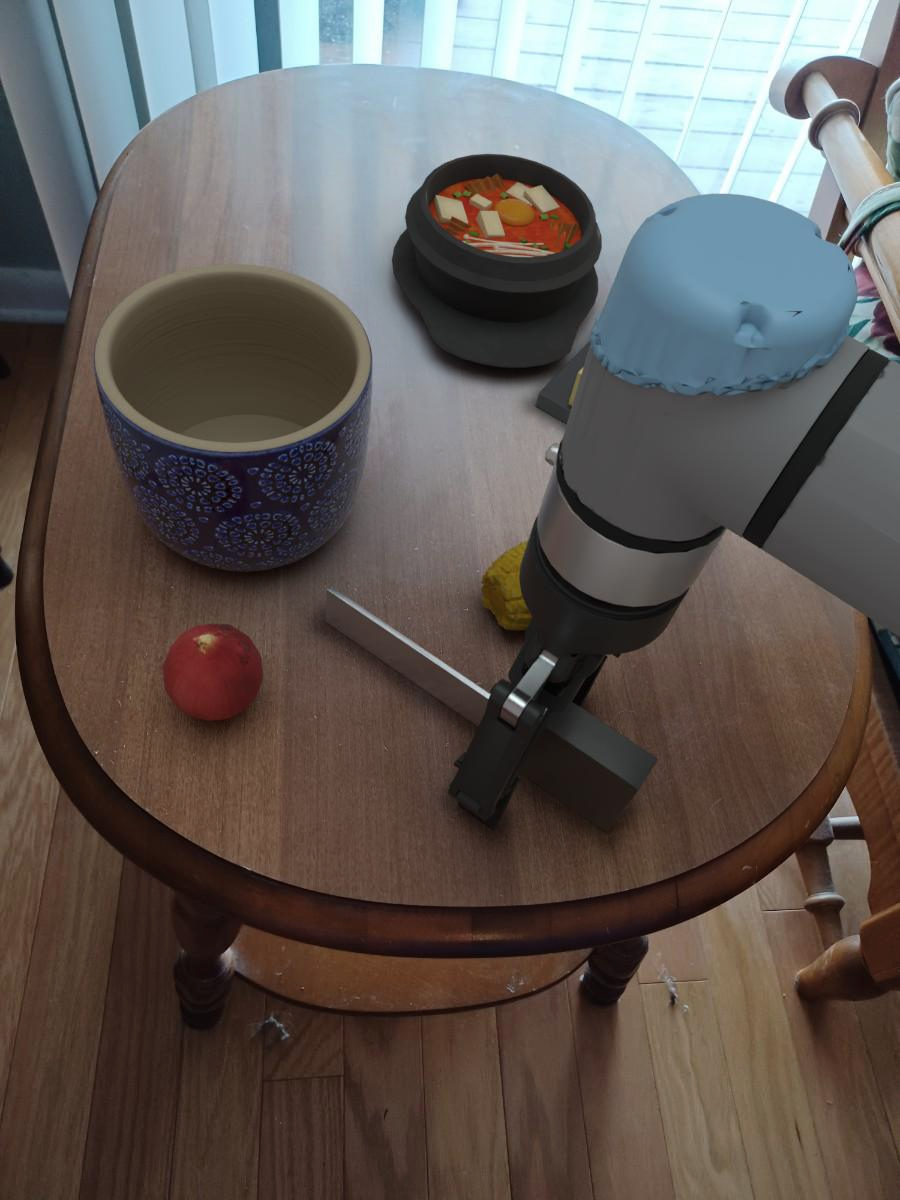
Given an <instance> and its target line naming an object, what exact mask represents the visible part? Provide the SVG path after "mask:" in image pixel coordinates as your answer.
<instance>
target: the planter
mask: <svg viewBox="0 0 900 1200" xmlns="http://www.w3.org/2000/svg"><path fill="white" fill-rule="evenodd" d="M92 356H93V358H92V360H93V361H92V362H93V370H94V371H93V372H94V379H95V384H96V389H97V390H96V391H97V393H98V398H99V403H100V406H101V411H102V415H103V419H104V423H105V427H106V431H107V435H108V437H109V438H108V439H109V441H110V444H111V448H112V452H113V455H114V459H115V462H116V466H117V468H118V471H119V473H120V476H121V479H122V483H123V485H124V487H125V490H126V492H127V495H128V497H129V499H130V501H131V503H132V505H133V508H134V510H135V511H136V513H137V515H138V516H139V517H140V519H141V520H142V522H143V523H144V524H145V525H146V528H148V530H149V531H150V532H151V533H152V534H153V536H154V537H156V539H157V540H159V542H161V543H162V544H163V545H165V546H166V547H167V548H169V549H170V550H171V551H174V552H175V553H176V554H178V555H181V556H182V557H184V558H186V559H187V560H189V561H192V562H194V563H197V564H199V565H202V566H205V567H209V568H213V569H218V570H221V571H222V570H223V571H229V572H244V573H245V572H249V573H250V572H261V571H267V570H273V569H278V568H280V567H284V566H286V565H287V566H288V565H290V564H292V563H295V562H297V561H300V560H301V559H304V558H306V557H307V556H309V555H312V554H313V553H314V552H316V551H317V550H319V549H320V548H321V547H322V546H323V545H325V544H326V543H327V542H328V541H329V540H331V539H332V538H333V537H334V536H335V535H336V534H337V533H338V532H339V530H340V529H341V528H342V527H343V525H344V524H345V522H346V521H347V519H349V515H350V514H351V512H352V510H353V508H354V505H355V503H356V501H357V498H358V496H359V492H360V489H361V484H362V479H363V475H364V471H365V466H366V465H365V463H366V459H367V452H368V443H369V434H370V424H371V415H372V414H371V413H372V396H373V351H372V347H371V343H370V340H369V337H368V334H367V332H366V330H365V328H364V325H363V324H362V323H361V321H360V319H359V318H358V317H357V316H356V314H355V313H354V311H353V310H351V308H350V307H349V306H348V305H347V304H346V303H344V301H343V300H341V298H339V297H338V296H336V295H335V294H334V293H332V292H331V291H329V290H328V289H326V288H325V287H323V286H321V285H320V284H317V283H316V282H314V281H312V280H309V279H307V278H304V277H302V276H301V275H297V274H295V273H291V272H289V271H285V270H282V269H277V268H273V267H268V266H262V265H255V264H243V263H240V264H239V263H222V264H221V263H220V264H210V265H209V264H208V265H207V264H206V265H201V266H195V267H189V268H186V269H182V270H178V271H175V272H171V273H168V274H166V275H163V276H161V277H158V278H156V279H153V280H152V281H150V282H148V283H146V284H144V285H142V286H141V287H139V288H138V289H136V290H134V291H132V292H131V293H130V294H129V295H127V296H126V297H125V298H124V299H123V300H121V302H119V303H118V304H117V305H116V306H115V307H114V309H112V311H111V312H110V313H109V314H108V316H107V317H106V319H105V320H104V321H103V323H102V324H101V327H100V329H99V331H98V334H97V336H96V340H95V344H94V349H93V355H92Z"/></svg>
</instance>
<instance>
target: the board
mask: <svg viewBox="0 0 900 1200" xmlns="http://www.w3.org/2000/svg"><path fill="white" fill-rule="evenodd" d="M590 344H591V343H590V341H588V342H587V344H585V346H584V347H582V348H581V349H580V351H578V353H576V355H575V356H574V357H573V358H571V360H569V362H568V363H567V364H565V366H564V367H563V368H562V369H561V370H560V371H559V372H558V373H556V375H555V376H554V377H553V378H552V379H551V380H550V381H549V382H548V383H547V384H546V385H545V386H544V387H543V388H542V389H541V390H540V391H539V393H538V395H537V400H536V402H535V407H536V408H538V409H540V410H542V411H543V412H545V413H547V414H549V415H550V416H552V417H554V418H555V419H557V420H558V421H560V422H562V423H564V424H566V425H567V422H568V418H569V415H570V412H571V408H572V406H570V405H569V404H568V403H569V400H570V397H571V394H572V390H573V387H574V384H575V381H576V378H577V374H578V372H579V371H580V370H581V369H582V368H583V367H584V364H585V361H586V357H587V354H588V350H589V347H590Z"/></svg>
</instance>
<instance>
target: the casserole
mask: <svg viewBox="0 0 900 1200" xmlns="http://www.w3.org/2000/svg"><path fill="white" fill-rule="evenodd" d="M596 215H597V214H596V211H595V209H594V206H593V203H592V201H591V200H590V198H589V196H588V195H587V193H586V192H585V191H584V190H583V189H582V188H581V187H580V186H579V185H578V184H577V183H576V182H574V181H573V180H572V179H571V178H569V177H568V176H567V175H565V174H564V173H562V172H560V171H558V170H556V169H554V168H553V167H550V166H548V165H546V164H544V163H541V162H538V161H535V160H533V159H528V158H524V157H521V156H515V155H509V154H504V153H503V154H502V153H501V154H500V153H499V154H498V153H481V154H479V153H478V154H469V155H465V156H460V157H457V158H453V159H451V160H448V161H446V162H444V163H441V165H439V166H437V167H436V168H434V169H433V170H432V171H431V172H430V173H429V174H428V175H427V176H426V177H425V179H424V181H423V183H422V185H420V187H419V188H417V190H416V191H415V192H414V193H413V194H412V195H411V197H410V199H409V201H408V202H407V205H406V209H405V215H404V220H405V226H406V228H405V229H404V230H403V232H401V234H400V235H399V237H398V238H397V240H396V242H395V244H394V247H393V252H392V258H391V264H392V271H393V275H394V277H395V280H396V282H397V284H398V287H399V288H400V290H401V291H402V292H403V293H404V295H405V296H406V297H407V299H408V300H409V302H410V303H411V304H412V305H413V307H415V309H416V310H417V311H418V313H419V314H420V316H421V318H422V321H423V323H424V324H425V326H426V329H427V332H428V334H429V335H430V337H431V339H432V341H433V342H434V343H435V344H436V345H437V346H438V347H440V348H441V350H443V351H445V352H447V353H449V354H451V355H453V356H455V357H458V358H460V359H462V360H465V361H469V362H473V363H477V364H479V365H485V366H491V367H498V368H519V369H520V368H524V369H525V368H533V367H539V366H546V365H549V364H552V363H555V362H559V361H561V360H562V359H563V358H564V357H566V356H567V355H569V354H570V352H571V350H572V348H573V345H574V342H575V339H576V336H577V333H578V330H579V327H580V325H581V324H582V323H583V321H584V320H585V318H587V316H588V314H589V313H590V311H591V310H592V309H593V307H594V306H595V304H596V301H597V297H598V293H599V277H598V274H597V271H596V267H595V265H596V263H598V260H599V258H600V255H601V252H602V249H603V244H602V243H603V242H602V240H603V239H602V237H603V236H602V233H601V230H600V227H599V224H598V222H597V217H596Z"/></svg>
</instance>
